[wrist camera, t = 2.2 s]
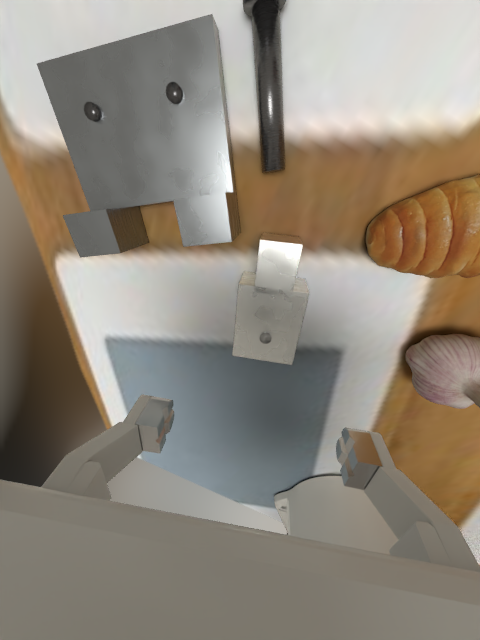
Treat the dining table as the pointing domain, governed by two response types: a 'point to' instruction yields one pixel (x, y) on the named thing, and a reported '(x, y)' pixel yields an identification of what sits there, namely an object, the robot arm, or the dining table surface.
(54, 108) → the gunmetal leaf
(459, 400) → the garlic bulb
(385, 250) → the pastry
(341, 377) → the dining table surface
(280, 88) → the hinge pin
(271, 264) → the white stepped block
